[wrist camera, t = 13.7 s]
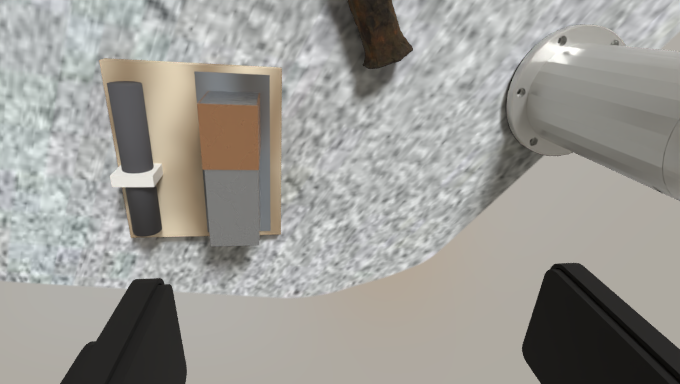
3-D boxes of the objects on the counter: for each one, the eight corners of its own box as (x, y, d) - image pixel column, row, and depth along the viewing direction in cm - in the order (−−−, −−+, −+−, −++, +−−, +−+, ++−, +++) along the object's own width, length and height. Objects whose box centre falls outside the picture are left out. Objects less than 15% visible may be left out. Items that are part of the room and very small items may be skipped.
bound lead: (153, 81, 31) (140, 88, 28) (170, 220, 37) (161, 239, 34) (110, 79, 31) (92, 86, 28) (134, 221, 36) (122, 240, 33)
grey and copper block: (259, 92, 33) (257, 105, 28) (261, 217, 37) (260, 246, 33) (208, 90, 32) (196, 103, 27) (217, 218, 37) (208, 247, 32)
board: (281, 67, 33) (281, 69, 32) (280, 228, 40) (280, 234, 39) (105, 58, 31) (98, 60, 30) (135, 231, 37) (130, 238, 36)
